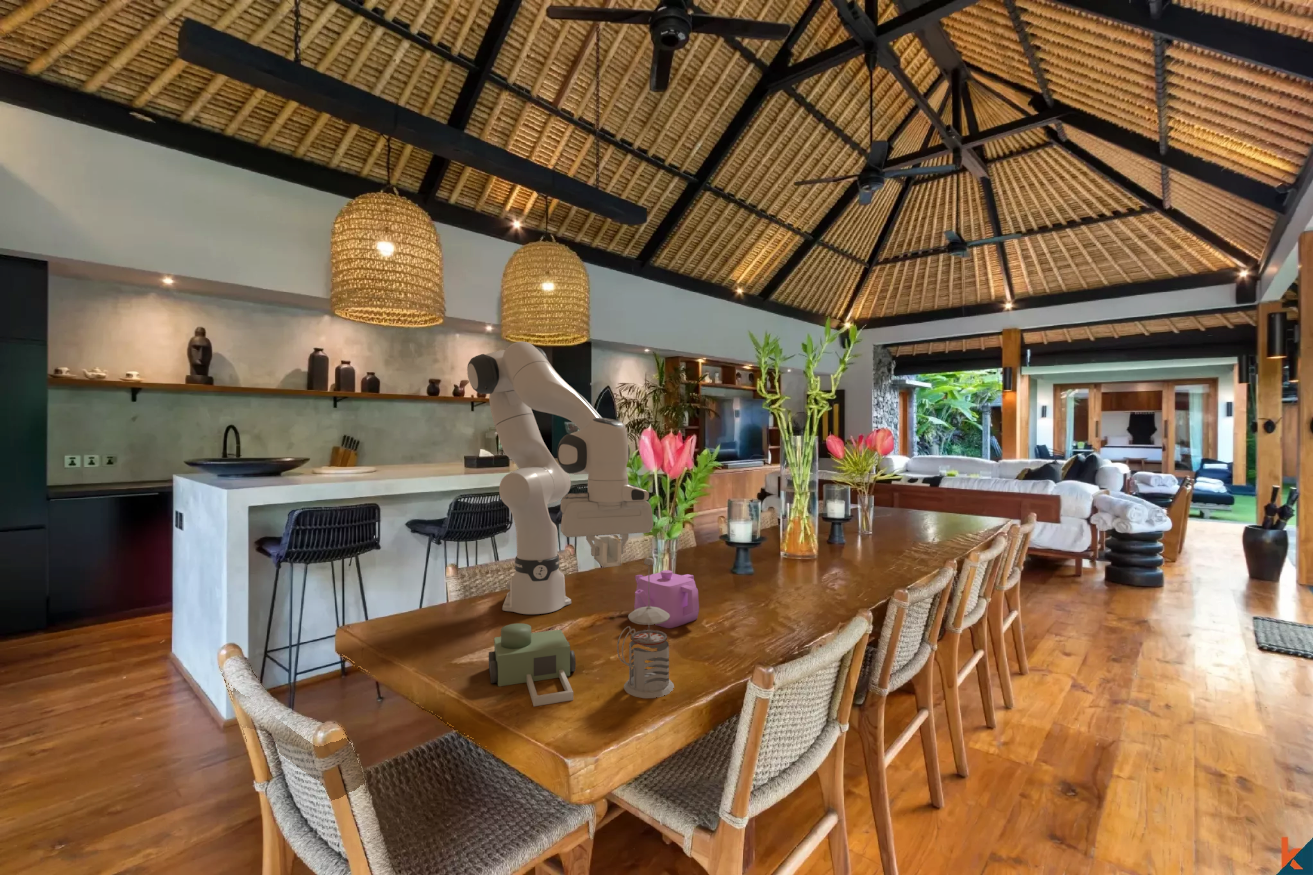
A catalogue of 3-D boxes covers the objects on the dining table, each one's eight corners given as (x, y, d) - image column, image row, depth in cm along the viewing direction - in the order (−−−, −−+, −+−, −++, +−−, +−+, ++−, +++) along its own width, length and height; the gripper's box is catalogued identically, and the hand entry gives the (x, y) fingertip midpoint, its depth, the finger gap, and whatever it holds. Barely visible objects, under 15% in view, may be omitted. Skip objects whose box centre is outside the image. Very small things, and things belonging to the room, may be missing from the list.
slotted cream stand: (594, 558, 129) (594, 536, 129) (611, 557, 130) (611, 535, 130) (603, 567, 121) (603, 543, 121) (621, 565, 123) (621, 542, 123)
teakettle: (701, 629, 141) (701, 579, 141) (632, 629, 141) (632, 579, 141) (696, 607, 158) (696, 563, 158) (634, 607, 158) (635, 563, 158)
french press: (684, 688, 109) (684, 559, 109) (633, 706, 103) (633, 567, 102) (655, 670, 117) (655, 549, 117) (606, 685, 111) (605, 557, 110)
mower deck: (488, 666, 119) (488, 623, 119) (566, 655, 125) (566, 615, 125) (495, 712, 100) (495, 661, 100) (587, 697, 106) (587, 649, 106)
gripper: (563, 495, 119) (562, 561, 119) (655, 492, 126) (655, 554, 126) (558, 491, 125) (557, 554, 125) (646, 489, 132) (645, 548, 132)
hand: (607, 554), depth 126 cm, fingers closed on slotted cream stand, 4 cm apart
